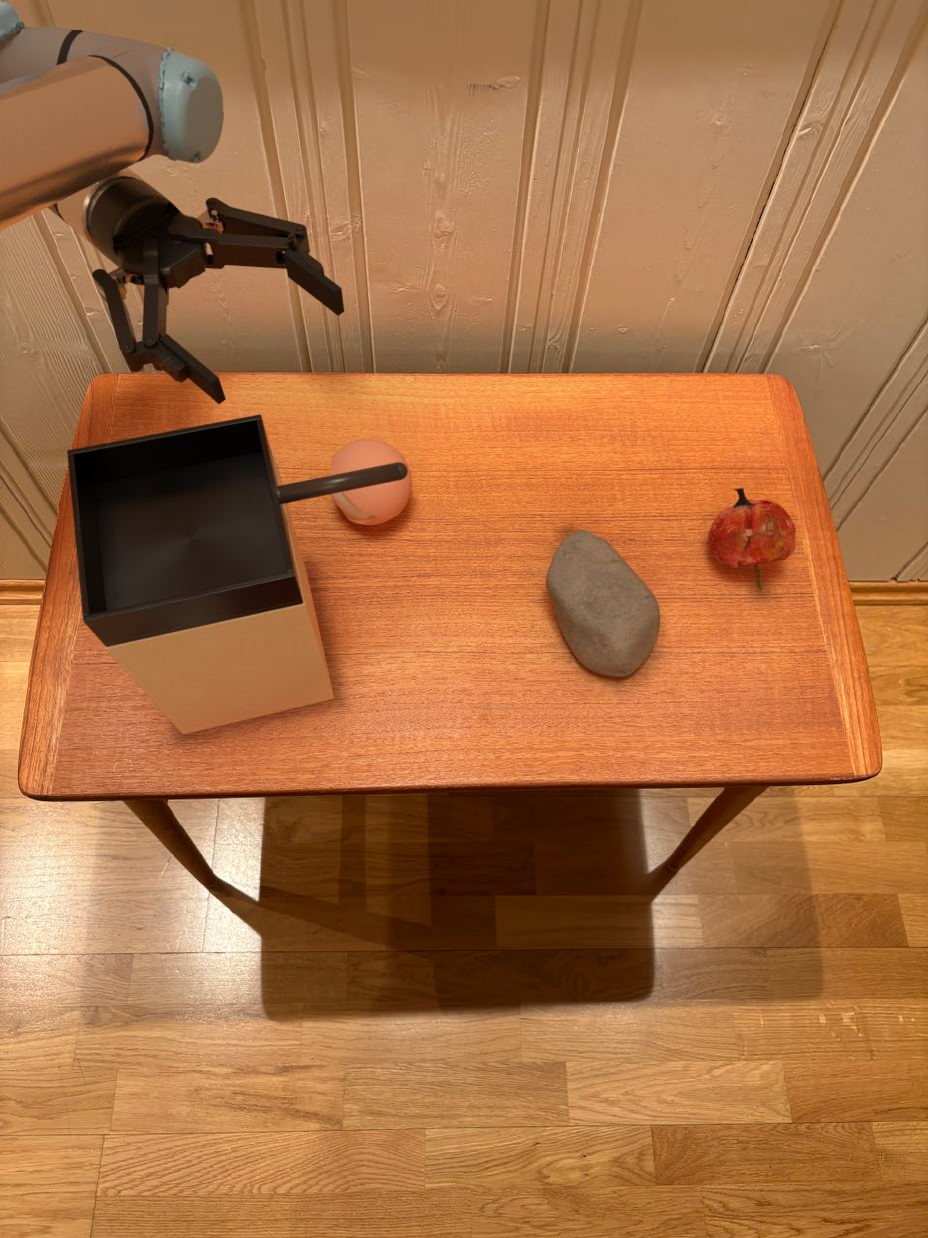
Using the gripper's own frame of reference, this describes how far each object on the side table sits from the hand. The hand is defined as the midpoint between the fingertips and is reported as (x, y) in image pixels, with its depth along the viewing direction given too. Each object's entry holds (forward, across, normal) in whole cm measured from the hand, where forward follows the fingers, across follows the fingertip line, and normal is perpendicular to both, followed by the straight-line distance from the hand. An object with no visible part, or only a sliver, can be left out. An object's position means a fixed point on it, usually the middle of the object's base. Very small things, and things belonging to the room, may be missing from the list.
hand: (281, 345), depth 71 cm
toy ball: (+10, 0, -14) cm, 17 cm away
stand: (+12, +18, -14) cm, 26 cm away
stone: (+32, -6, -14) cm, 36 cm away
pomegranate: (+39, -20, -14) cm, 46 cm away
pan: (+15, +15, +5) cm, 21 cm away
